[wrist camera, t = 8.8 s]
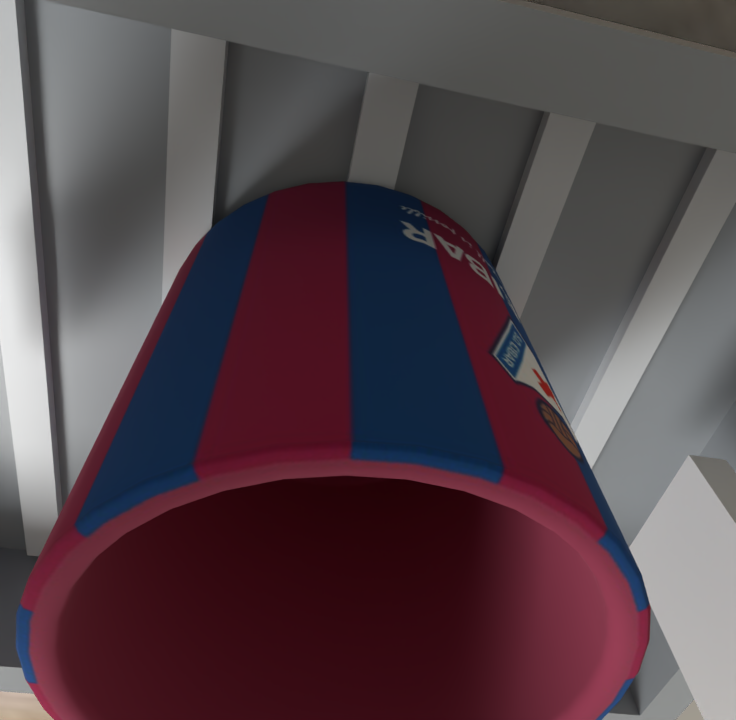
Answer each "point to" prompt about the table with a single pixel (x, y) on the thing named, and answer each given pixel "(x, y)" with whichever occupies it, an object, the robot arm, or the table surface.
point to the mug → (335, 495)
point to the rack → (376, 167)
